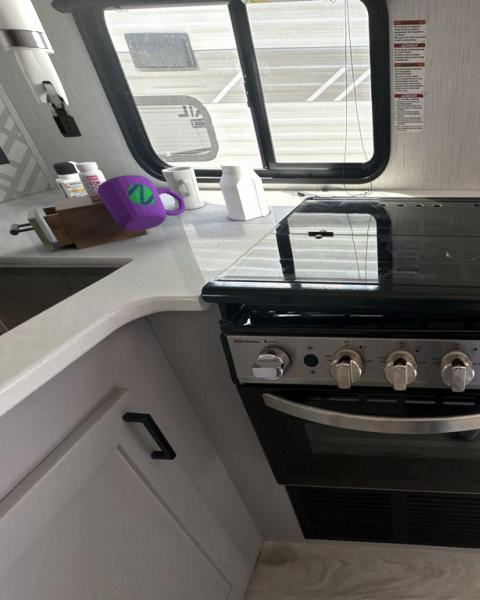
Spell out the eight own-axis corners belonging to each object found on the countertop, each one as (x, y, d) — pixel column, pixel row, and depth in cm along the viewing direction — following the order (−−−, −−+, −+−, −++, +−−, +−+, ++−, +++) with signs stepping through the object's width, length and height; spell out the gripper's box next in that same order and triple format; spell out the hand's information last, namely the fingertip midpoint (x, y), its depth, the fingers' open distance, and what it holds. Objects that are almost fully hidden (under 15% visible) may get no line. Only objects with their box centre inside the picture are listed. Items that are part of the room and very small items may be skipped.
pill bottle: (98, 200, 83) (80, 165, 78) (85, 199, 84) (67, 164, 80) (117, 196, 87) (101, 161, 82) (105, 194, 88) (88, 161, 83)
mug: (124, 215, 74) (101, 174, 73) (112, 236, 81) (91, 199, 80) (200, 208, 88) (182, 173, 87) (185, 227, 95) (168, 195, 94)
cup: (215, 203, 114) (203, 166, 108) (197, 211, 107) (183, 172, 100) (188, 202, 116) (175, 166, 109) (168, 210, 108) (153, 171, 102)
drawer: (23, 256, 76) (0, 223, 72) (24, 243, 83) (3, 212, 79) (116, 236, 86) (102, 206, 82) (110, 225, 93) (96, 197, 89)
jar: (237, 222, 96) (222, 168, 88) (224, 215, 102) (208, 164, 94) (273, 213, 103) (262, 162, 95) (259, 207, 109) (247, 159, 101)
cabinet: (77, 249, 81) (55, 210, 76) (74, 236, 89) (53, 200, 84) (147, 233, 90) (131, 198, 85) (138, 223, 97) (123, 189, 92)
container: (74, 204, 116) (53, 165, 109) (66, 201, 120) (45, 163, 113) (100, 199, 121) (82, 161, 114) (92, 196, 125) (73, 159, 118)
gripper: (3, 46, 72) (49, 134, 81) (-2, 37, 61) (51, 139, 70) (49, 49, 76) (88, 132, 85) (52, 40, 65) (95, 136, 74)
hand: (71, 135), depth 78 cm, fingers open, 9 cm apart
